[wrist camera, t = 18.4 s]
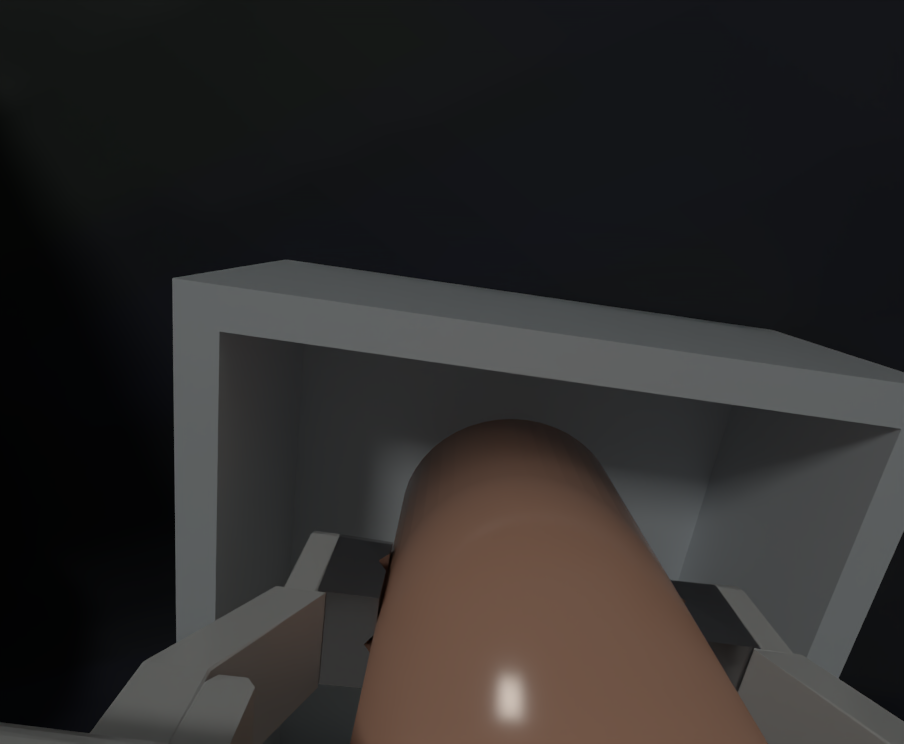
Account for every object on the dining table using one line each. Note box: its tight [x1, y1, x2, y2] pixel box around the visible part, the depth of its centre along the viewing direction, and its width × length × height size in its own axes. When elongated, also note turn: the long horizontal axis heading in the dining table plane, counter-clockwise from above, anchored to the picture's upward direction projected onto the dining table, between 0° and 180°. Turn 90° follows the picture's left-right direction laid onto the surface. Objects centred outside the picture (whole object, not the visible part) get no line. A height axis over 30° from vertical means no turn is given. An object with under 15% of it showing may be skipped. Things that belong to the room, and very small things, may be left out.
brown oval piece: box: [350, 419, 768, 744], centre depth 8 cm, size 5×5×7 cm
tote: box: [172, 260, 904, 744], centre depth 14 cm, size 18×14×6 cm
